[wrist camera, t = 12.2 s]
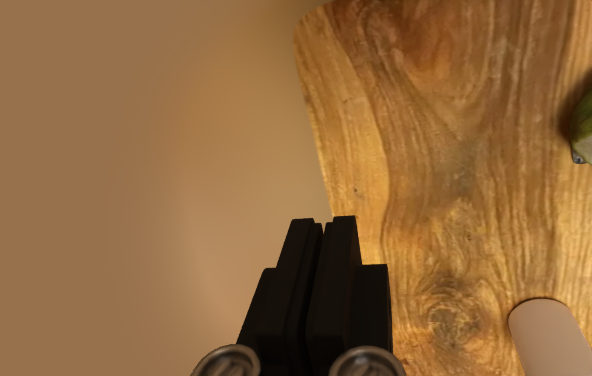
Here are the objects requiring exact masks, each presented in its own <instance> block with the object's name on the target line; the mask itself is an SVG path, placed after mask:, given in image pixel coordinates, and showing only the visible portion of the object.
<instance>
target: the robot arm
mask: <svg viewBox="0 0 592 376" xmlns="http://www.w3.org/2000/svg"><path fill="white" fill-rule="evenodd" d="M190 376H406V372H405V370H404V368H403V365H402V363H401V362H400V361H399V360H398V359H397V358H396V356H395V355H393V338H392V312H391V297H390V286H389V276H388V267H387V264H372V265H362V260H361V253H360V245H359V238H358V231H357V224H356V218H355V215H353V216H336V217H334V218H333V222H327V223H326V226H325V231H324V234H323V229H322V225H321V223H315V222H314V219H313V218H304V219H293V220H292V221H291V224H290V227H289V230H288V233H287V236H286V239H285V242H284V245H283V248H282V251H281V254H280V257H279V260H278V263H277V266H276V268H266V269H264V271H263V272H262V275H261V278H260V280H259V283H258V285H257V288H256V291H255V294H254V296H253V299H252V302H251V304H250V307H249V310H248V312H247V315H246V318H245V321H244V323H243V326H242V329H241V331H240V334H239V337H238V339H237V342H236V344H230V345H226V346H222V347H219V348H217V349H215V350H213V351H211V352H210V353H208V354H207V355H206V356H205V357H203V358H202V359H201V361H200V362H199V363H198V364H197V366H196V367H195V369H194V370H193V372H192V373H191V375H190Z"/></svg>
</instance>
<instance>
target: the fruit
mask: <svg viewBox="0 0 592 376" xmlns="http://www.w3.org/2000/svg"><path fill="white" fill-rule="evenodd" d="M569 132H570V142H571V145H572V147H573V153H572V154H573V160H574V163H576V164H583V163H588V164H590V165H592V84H591V85H590V86H589V87H588V88H587V90H586V91H585V92H584V93H583V95H582V96H581V98H580V99H579V101H578V103H577V105H576V107H575V109H574V111H573V113H572V116H571V120H570V124H569Z"/></svg>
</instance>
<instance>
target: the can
mask: <svg viewBox="0 0 592 376" xmlns="http://www.w3.org/2000/svg"><path fill="white" fill-rule="evenodd" d="M508 325H509V329H510V332H511V335H512V338H513V341H514V344H515V347H516V350H517V353H518V356H519V359H520V361H521V364H522V367H523V370H524V373H525V376H592V349H591V347H590V346H589V344H588V342H587V340H586V338H585V336H584V334H583V333H582V331H581V329H580V327H579V325H578V323H577V322H576V320H575V318H574V316H573V315H572V313H571V311H570V310H569V309H568V308H567V307H566V306H565V305H564V304H562V303H560V302H557V301H554V300H550V299H532V300H528V301H526V302H523V303H521V304H520V305H518V306H517V307H516V308H515V309H514V310H513V311H512V312H511V314H510V316H509V319H508Z"/></svg>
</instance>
